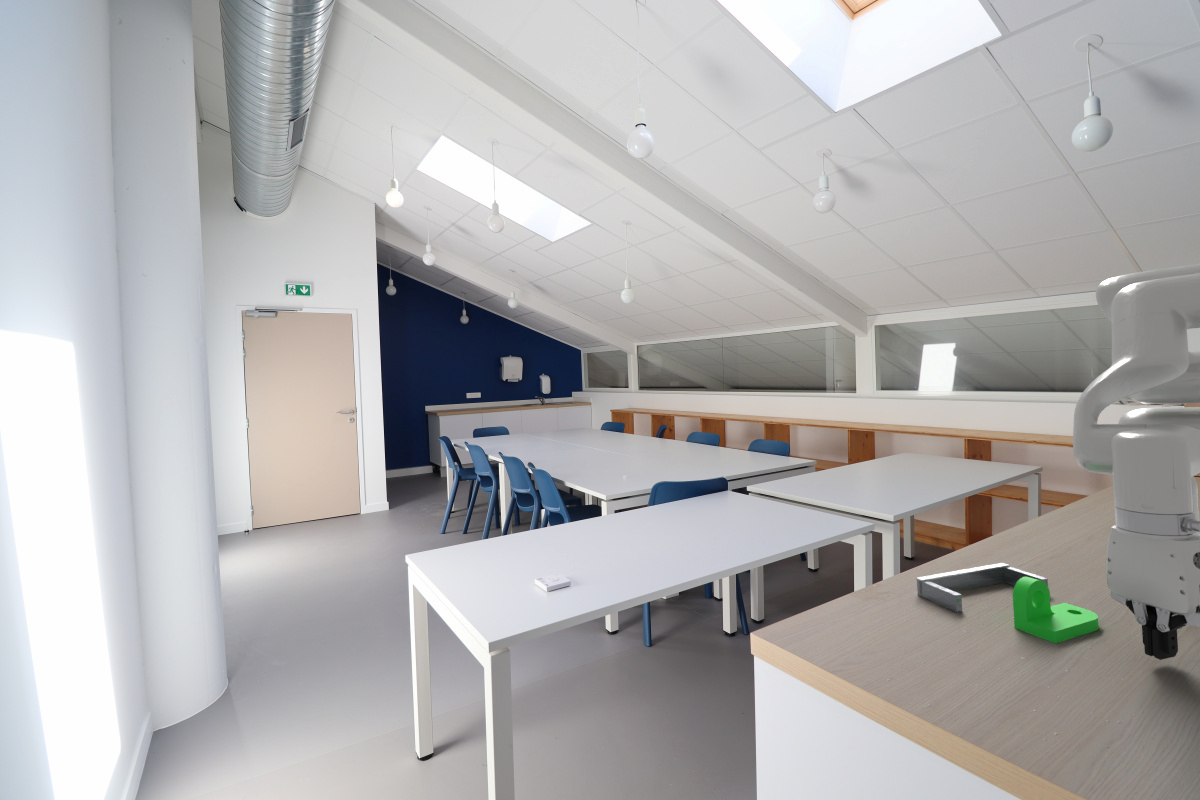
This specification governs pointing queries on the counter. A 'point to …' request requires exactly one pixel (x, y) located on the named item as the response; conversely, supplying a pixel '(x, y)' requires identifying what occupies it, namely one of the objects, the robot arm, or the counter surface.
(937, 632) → the counter surface
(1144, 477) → the robot arm
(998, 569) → the steel bracket
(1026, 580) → the mechanical part
